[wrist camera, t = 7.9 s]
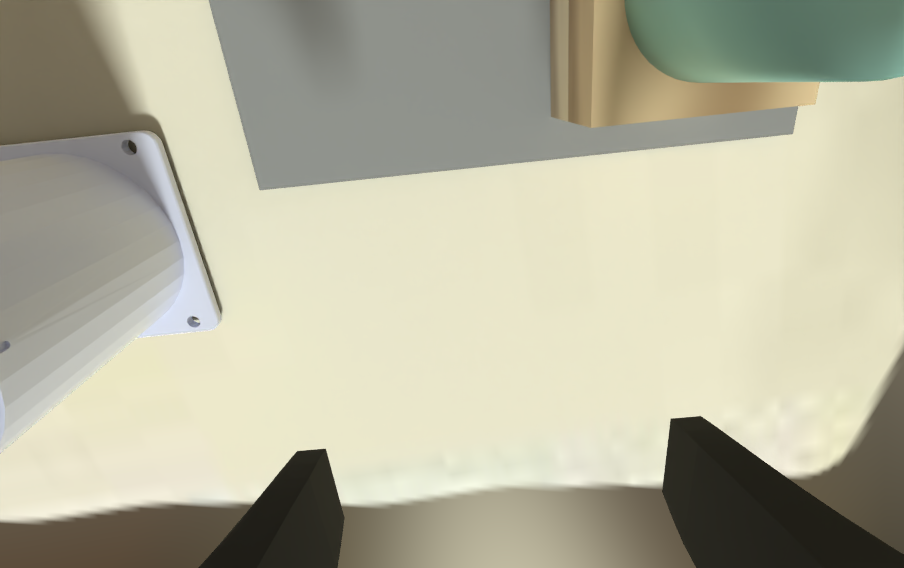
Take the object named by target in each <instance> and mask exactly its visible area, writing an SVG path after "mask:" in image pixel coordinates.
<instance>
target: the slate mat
mask: <svg viewBox="0 0 904 568" xmlns="http://www.w3.org/2000/svg"><path fill="white" fill-rule="evenodd" d="M209 3H210V7H211V10H212V14H213V18H214V22H215V25H216V29H217V33H218V37H219V40H220V44H221V48H222V51H223V55H224V59H225V63H226V66H227V70H228V74H229V78H230V81H231V85H232V89H233V92H234V96H235V100H236V104H237V107H238V111H239V115H240V118H241V122H242V126H243V130H244V133H245V137H246V141H247V145H248V148H249V152H250V156H251V159H252V163H253V167H254V171H255V174H256V178H257V182H258V186H259V189H260V190H267V189H276V188H286V187H295V186H305V185H314V184H324V183H333V182H343V181H352V180H362V179H371V178H381V177H390V176H400V175H409V174H419V173H428V172H438V171H447V170H456V169H466V168H475V167H485V166H494V165H504V164H513V163H523V162H532V161H542V160H551V159H561V158H570V157H580V156H589V155H599V154H608V153H618V152H627V151H637V150H646V149H655V148H665V147H674V146H684V145H693V144H703V143H712V142H722V141H731V140H741V139H750V138H760V137H769V136H779V135H788V134H793V130H794V125H795V120H796V115H797V110H798V106H794V107H785V108H775V109H766V110H756V111H747V112H737V113H728V114H719V115H709V116H700V117H690V118H681V119H671V120H662V121H652V122H643V123H633V124H624V125H614V126H605V127H595V128H589V127H586V126H582V125H578V124H575V123H571V122H567V121H564V120H560V119H557V118H553V117H551V66H550V0H209Z"/></svg>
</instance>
